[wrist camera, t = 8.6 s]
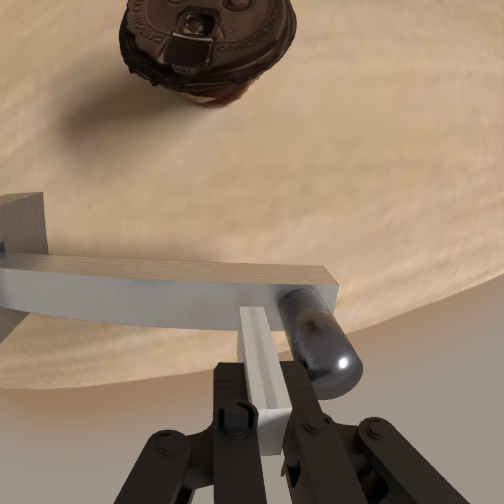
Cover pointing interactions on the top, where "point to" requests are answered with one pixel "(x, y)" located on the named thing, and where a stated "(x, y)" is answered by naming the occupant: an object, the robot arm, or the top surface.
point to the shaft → (192, 302)
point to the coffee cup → (205, 44)
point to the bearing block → (20, 240)
